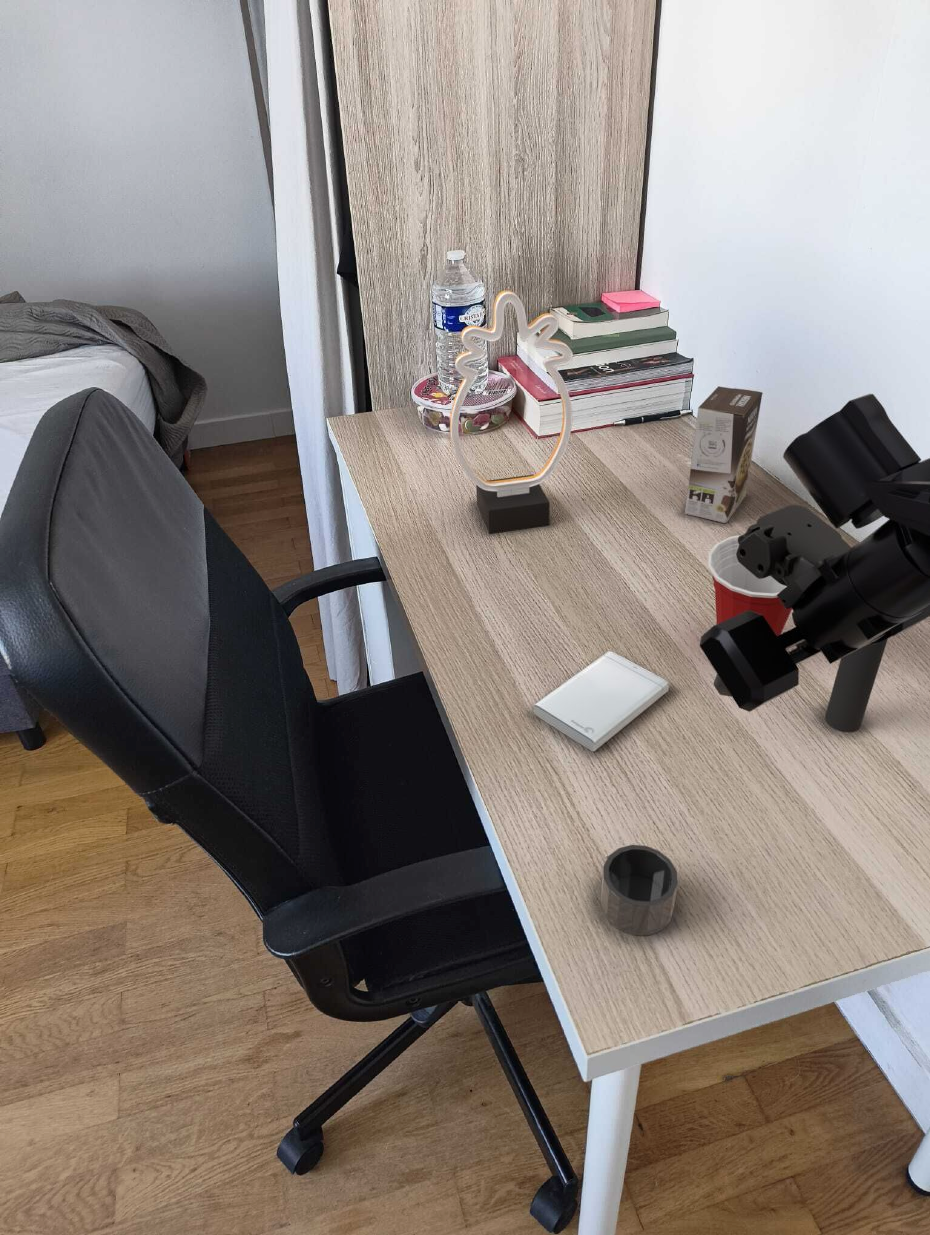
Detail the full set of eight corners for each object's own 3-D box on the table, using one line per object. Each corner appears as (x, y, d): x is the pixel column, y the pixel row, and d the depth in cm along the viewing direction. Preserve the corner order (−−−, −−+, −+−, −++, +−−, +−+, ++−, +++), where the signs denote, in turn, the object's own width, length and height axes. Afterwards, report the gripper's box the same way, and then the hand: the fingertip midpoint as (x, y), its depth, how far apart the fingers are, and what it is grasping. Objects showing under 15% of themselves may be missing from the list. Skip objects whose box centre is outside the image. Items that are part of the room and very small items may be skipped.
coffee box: (727, 524, 117) (744, 415, 108) (683, 514, 120) (696, 407, 111) (747, 496, 124) (764, 390, 114) (704, 487, 126) (718, 383, 117)
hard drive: (594, 741, 82) (669, 680, 89) (533, 703, 87) (608, 648, 94) (594, 753, 83) (668, 692, 90) (533, 714, 88) (607, 659, 95)
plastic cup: (685, 667, 93) (697, 576, 86) (705, 613, 101) (718, 526, 94) (788, 690, 89) (809, 597, 82) (800, 632, 97) (821, 543, 90)
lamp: (559, 493, 127) (563, 274, 109) (576, 521, 120) (583, 292, 101) (450, 508, 125) (435, 287, 107) (461, 537, 118) (447, 307, 99)
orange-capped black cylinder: (862, 713, 86) (893, 615, 79) (860, 736, 83) (891, 636, 76) (826, 705, 87) (853, 607, 80) (822, 727, 85) (850, 628, 77)
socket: (685, 924, 68) (690, 894, 65) (618, 944, 66) (621, 914, 64) (653, 867, 72) (657, 837, 70) (590, 885, 71) (592, 854, 69)
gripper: (904, 446, 61) (784, 552, 75) (713, 521, 54) (619, 624, 67) (1003, 572, 58) (859, 659, 71) (814, 670, 51) (694, 746, 64)
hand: (759, 667), depth 69 cm, fingers open, 9 cm apart
